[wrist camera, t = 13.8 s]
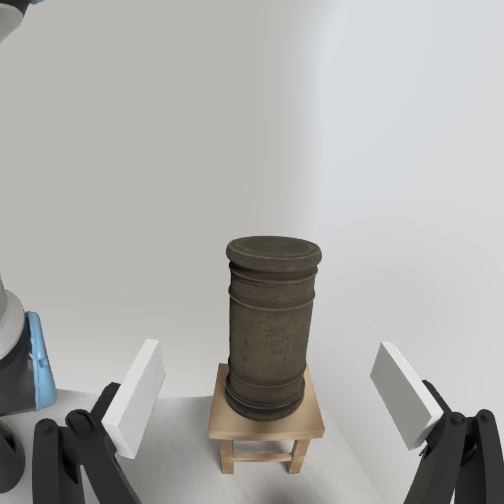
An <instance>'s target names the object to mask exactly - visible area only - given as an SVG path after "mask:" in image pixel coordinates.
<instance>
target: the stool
mask: <svg viewBox="0 0 504 504" xmlns="http://www.w3.org/2000/svg"><path fill="white" fill-rule="evenodd" d="M228 373H229V367H228V364H221V363H219V367H218V373H217V379H216V385H215V390H214V396H213V402H212V408H211V414H210V420H209V426H208V436H209V438H212V439H219V446H220V456H221V464H222V473H226V474H233V467H234V465H233V461H243V462H277V461H289V463H288V474H292V473H299V471H300V468H301V466H302V463H303V460H304V457H305V454H306V451H307V448H308V445H309V442H310V439H312V438H322V436H323V434H324V431H325V429H324V425H323V421H322V417H321V413H320V409H319V405H318V402H317V398H316V394H315V390H314V387H313V383H312V379H311V376H310V372H309V368H308V365H307V364H306V369H305V372H304V376H303V377H304V379H305V383H306V385H305V390H304V391H305V394H304V399H303V401H302V403H301V405H300V406H299V407H298V409H297V410H296V411H295V412H293V413H292V414H291V415H289V416H287V417H285V418H282V419H279V420H275V421H255V420H251V419H247V418H245V417H243V416H241V415H239V414H238V413H236V412H235V411H234V410H233V409H232V408H231V407H230V405H229V404H228V402H227V400H226V397H225V387H226V377H227V375H228ZM232 440H247V441H277V440H295V441H294V445H293V449H292V452H291V453H233V441H232Z"/></svg>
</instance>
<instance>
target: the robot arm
mask: <svg viewBox="0 0 504 504" xmlns="http://www.w3.org/2000/svg"><path fill="white" fill-rule="evenodd" d="M42 1H44V0H0V43H1V42H2V41H3V39H4V38H6V37H7V36H8V35H9V34H10V33H11V32H13V31H14V30H15V29H16V28H17V27H18V26H19V25H20V24H21V22H22V20H23V17H24V14H25V12H26V9H27V7H28V5H29V4H30V3H31V4H37V3H38V2H42ZM370 377H371V379H372V381H373V383H374V384H375V386H376V388H377V390H378V392H379V394H380V396H381V397H382V399H383V401H384V403H385V405H386V407H387V409H388V411H389V413H390V415H391V416H392V418H393V420H394V422H395V424H396V426H397V428H398V430H399V432H400V434H401V436H402V438H403V440H404V442H405V444H406V446H407V448H408V450H411V449H414V448H417V447H420V446H421V445H422V443H423V442H424V441H425V440H426V442H427V445H426V446H425V448H424V449H423V450H422V452H421V453H420V455H419V456H421V455H422V454H423V455H422V458H421V461H420V464H419V467H418V470H417V473H416V475H415V478H414V480H413V483H412V485H411V488H410V490H409V492H408V495H407V497H406V499H405V501H404V503H403V504H450V502H451V499H452V495H453V492H454V488H455V498H454V504H504V461H503V455H502V449H501V443H500V438H499V434H498V430H497V425H496V422H495V417H494V415H493V413H492V412H491V411H489V410H486V409H482V410H480V411H479V412H478V413H477V414H476V416H475V417H465V416H464V415H463V414H461V413H459V412H452V411H451V409H450V408H449V407H448V405H447V404H446V403H445V401H444V400H443V398H442V397H441V396H440V394H439V393H438V392H437V391H436V389H435V388H434V386H433V385H432V384H431V383H429V382H428V381H426V380H422V381H421V380H420V378H419V377H418V375H417V374H416V373H415V372H414V370H413V369H412V367H411V366H410V365H409V364H408V362H407V361H406V360H405V358H404V357H403V356H402V354H401V353H400V352H399V350H398V349H397V348H396V346H395V345H394V344H393V343H392V341H388V342H381V344H380V347H379V351H378V354H377V357H376V360H375V363H374V366H373V369H372V372H371V375H370ZM164 378H165V371H164V366H163V361H162V354H161V348H160V343H159V340H152V339H147V340H146V342H145V343H144V345H143V347H142V348H141V350H140V352H139V354H138V356H137V357H136V359H135V361H134V362H133V364H132V366H131V368H130V369H129V371H128V373H127V375H126V377H125V378H124V380H123V382H122V384H118V383H114V382H112V383H111V384H109V385H108V386H106V387H105V389H104V390H103V392H102V394H101V396H100V397H99V399H98V401H97V402H96V404H95V405H94V407H93V409H92V411H91V412H90V413H89V412H87V411H86V410H82V409H76V410H73V411H71V412H70V413H68V414H67V416H66V418H65V423H66V425H67V426H68V427H62V426H58V425H57V423H56V422H55V421H54V420H52V419H48V418H46V419H42V420H40V421H38V423H37V424H36V426H35V431H34V442H33V459H32V493H33V504H85V499H84V493H83V486H82V479H81V470H80V465H83V466H84V469H85V471H86V474H87V476H88V478H89V481H90V483H91V485H92V488H93V490H94V492H95V494H96V496H97V498H98V500H99V502H100V504H142V503H141V502H140V500H139V499H138V497H137V495H136V494H135V492H134V490H133V489H132V487H131V485H130V484H129V482H128V480H127V478H126V477H125V475H124V473H123V471H122V469H121V467H120V466H119V464H118V462H117V460H116V458H115V456H114V455H115V452H116V450H117V451H118V453H119V455H120V456H123V457H127V458H131V459H135V457H136V455H137V452H138V449H139V446H140V443H141V440H142V437H143V435H144V432H145V429H146V426H147V423H148V421H149V418H150V415H151V412H152V410H153V407H154V404H155V402H156V399H157V396H158V394H159V391H160V388H161V386H162V383H163V381H164ZM56 400H57V390H56V387H55V383H54V379H53V375H52V372H51V368H50V364H49V360H48V356H47V351H46V347H45V343H44V338H43V333H42V328H41V323H40V318H39V315H38V314H37V313H36V312H30V311H28V312H26V313H25V312H24V309H23V306H22V304H21V302H20V300H19V299H18V298H17V297H16V296H15V295H14V294H13V293H12V292H10V291H8V290H5V289H4V287H3V284H2V280H1V276H0V417H1V416H7V415H13V414H19V413H25V412H31V411H38V410H39V409H41V408H45V407H48V406H51V405H53V404H54V403H55V402H56ZM24 466H25V456H24V451H23V448H22V445H21V443H20V441H19V440H18V439H17V437H16V436H15V435H14V433H13V432H12V431H11V429H10V428H9V427H8V426H7V425H5V424H4V423H3V422H2V421H1V420H0V493H5V492H7V491H9V490H11V489H12V488H13V487H14V486H15V485H16V484H17V483H18V482H19V480H20V479H21V477H22V474H23V471H24Z"/></svg>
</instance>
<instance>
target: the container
mask: <svg viewBox="0 0 504 504" xmlns="http://www.w3.org/2000/svg"><path fill="white" fill-rule="evenodd" d="M226 255H227V257H228V259H229V260H230V263H229V268H230V272H231V284H230V286H229V290H228V292H229V295H230V315H229V317H230V318H229V319H230V320H229V321H230V322H229V323H230V337H229V341H230V355H229V358H228V367H229V373H228V375H227V377H226V387H225V397H226V400H227V402H228V404H229V405H230V407H231V408H232V409H233V410H234V411H235V412H236V413H238V414H239V415H241V416H243V417H245V418H247V419H251V420H255V421H275V420H279V419H282V418H285V417H287V416H289V415H291V414H292V413H293V412H295V411H296V410H297V409H298V407H299V406H300V405H301V403H302V401H303V399H304V394H305V391H304V390H305V385H306V383H305V379H304V377H303V376H304V372H305V369H306V350H307V343H308V337H309V330H310V323H311V315H312V307H313V299H314V298H315V291H314V282H315V276H316V274H317V272H318V268H317V265H318V264H319V263H320V261H321V259H322V253H321V250H320V248H319V247H318V246H317V245H316V244H314V243H312V242H309V241H306V240H302V239H297V238H290V237H280V236H252V237H244V238H239V239H235V240H232V241H231V242H229V244H228V246H227V248H226Z"/></svg>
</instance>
